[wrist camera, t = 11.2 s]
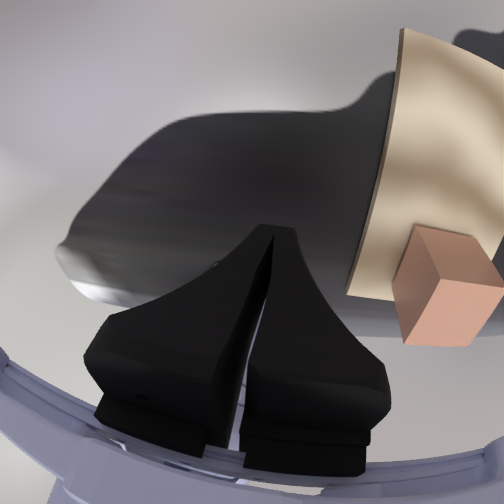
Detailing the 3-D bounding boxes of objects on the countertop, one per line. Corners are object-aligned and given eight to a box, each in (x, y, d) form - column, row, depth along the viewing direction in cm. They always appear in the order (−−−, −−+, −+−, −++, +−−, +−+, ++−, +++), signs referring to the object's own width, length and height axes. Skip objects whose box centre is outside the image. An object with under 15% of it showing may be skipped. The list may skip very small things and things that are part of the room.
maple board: (460, 301, 22) (464, 308, 22) (346, 286, 24) (346, 294, 23) (536, 93, 11) (544, 95, 10) (399, 29, 12) (404, 27, 11)
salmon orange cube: (448, 294, 21) (467, 346, 16) (391, 287, 21) (403, 344, 17) (476, 238, 17) (507, 288, 13) (415, 225, 18) (440, 278, 13)
